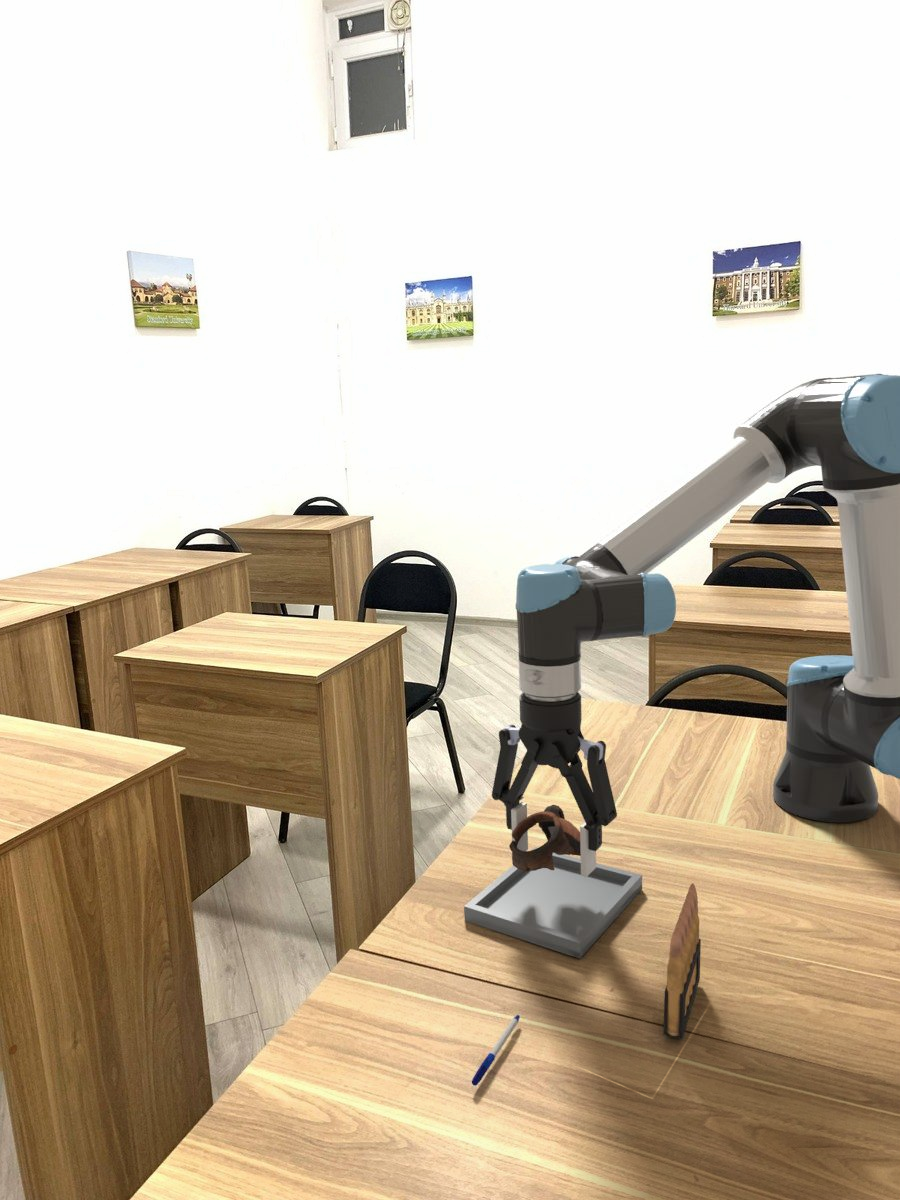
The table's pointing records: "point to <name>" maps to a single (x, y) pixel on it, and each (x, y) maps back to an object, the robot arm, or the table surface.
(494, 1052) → the ballpoint pen
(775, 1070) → the table surface
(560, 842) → the broken brown clay pot
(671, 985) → the ammunition clip
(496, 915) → the tray
